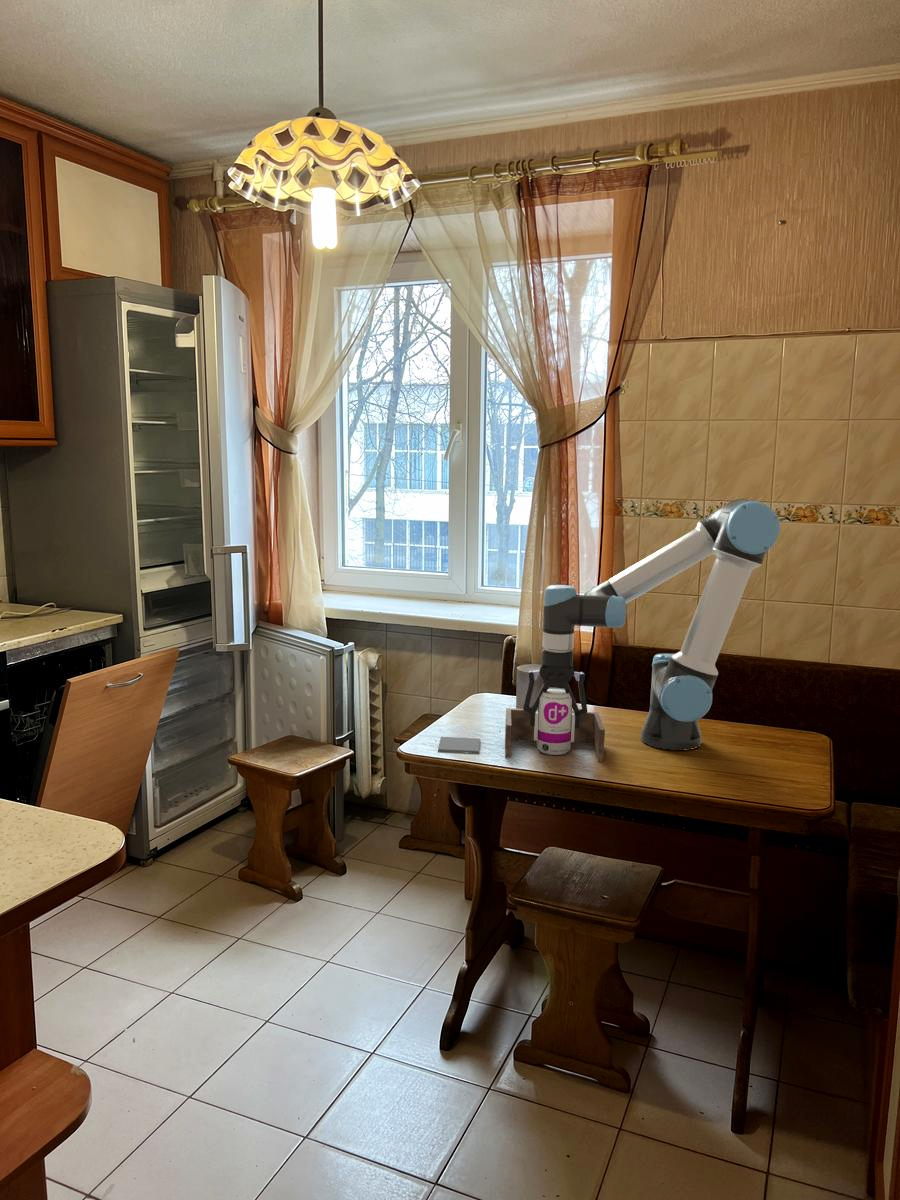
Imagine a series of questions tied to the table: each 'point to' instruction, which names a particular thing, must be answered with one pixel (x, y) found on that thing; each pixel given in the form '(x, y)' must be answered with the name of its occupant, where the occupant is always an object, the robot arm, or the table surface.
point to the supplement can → (554, 722)
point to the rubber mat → (459, 744)
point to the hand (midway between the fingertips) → (553, 739)
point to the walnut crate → (585, 733)
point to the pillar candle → (523, 684)
